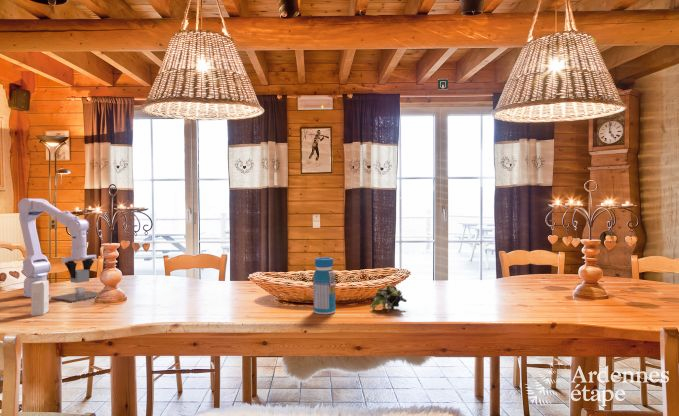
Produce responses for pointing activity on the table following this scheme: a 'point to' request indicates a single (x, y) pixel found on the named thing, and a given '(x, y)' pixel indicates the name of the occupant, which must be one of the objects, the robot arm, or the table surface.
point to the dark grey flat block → (77, 295)
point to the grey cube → (80, 276)
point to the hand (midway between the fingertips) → (79, 277)
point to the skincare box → (39, 298)
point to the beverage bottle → (324, 286)
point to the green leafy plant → (388, 297)
